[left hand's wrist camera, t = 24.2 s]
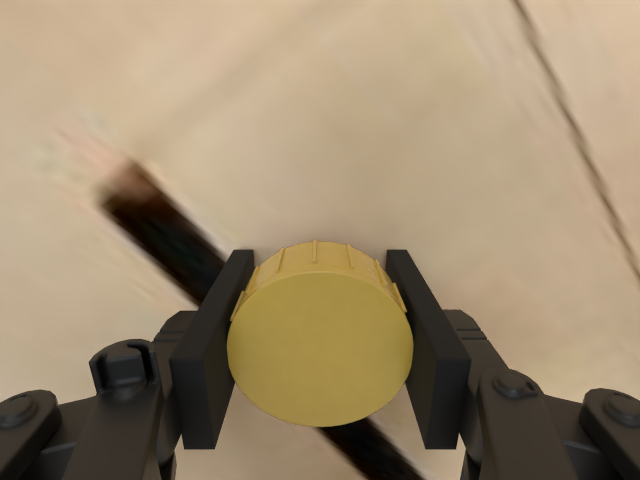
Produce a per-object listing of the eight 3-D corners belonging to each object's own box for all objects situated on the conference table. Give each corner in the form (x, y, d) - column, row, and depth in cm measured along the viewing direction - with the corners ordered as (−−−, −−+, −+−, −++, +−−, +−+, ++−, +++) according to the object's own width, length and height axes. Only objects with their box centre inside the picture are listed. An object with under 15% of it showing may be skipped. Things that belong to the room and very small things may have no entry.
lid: (345, 398, 14) (350, 452, 12) (215, 337, 13) (194, 383, 11) (430, 287, 12) (454, 327, 10) (288, 208, 11) (281, 233, 9)
